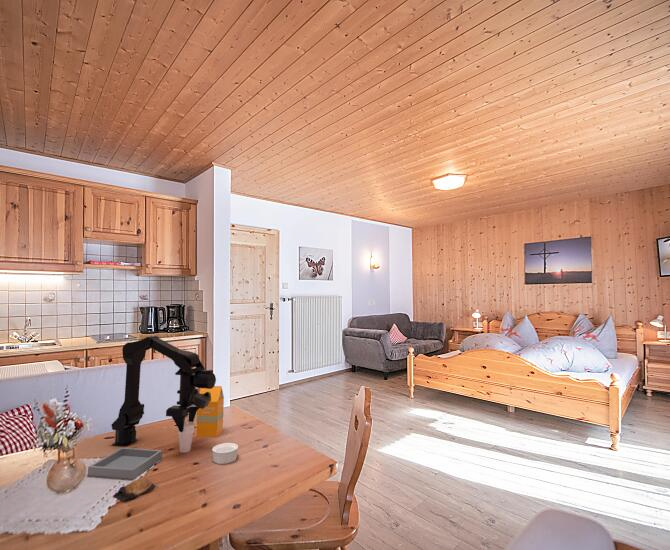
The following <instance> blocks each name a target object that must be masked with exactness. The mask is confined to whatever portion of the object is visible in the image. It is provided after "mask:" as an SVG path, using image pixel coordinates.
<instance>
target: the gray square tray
mask: <svg viewBox="0 0 670 550" xmlns="http://www.w3.org/2000/svg"><path fill="white" fill-rule="evenodd" d="M162 459H163V450H161V449H147V448H133V447H131V448H130V447H121V448H119V449H117V450H115V451H114V452H112V453H110V454H109V455H107V456H105V457H103V458H101V459H100V460H98V461H95V462H94V463H93V464H91V465H88V466H87V477H90V478H101V479H110V480H111V479H114V480H124V481H125V480H128V481H134V480H136V478H138V477H140V476H141V475H142V474H143V473H145V472H146V471H147V470H149V469H150V468H152V467H153V466H154V465H156V464H157V463H159V462H160V461H161V460H162Z"/></svg>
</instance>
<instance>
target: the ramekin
mask: <svg viewBox="0 0 670 550" xmlns="http://www.w3.org/2000/svg"><path fill="white" fill-rule="evenodd" d="M238 449H239V445H238V444H237V443H233V442H225V443H220V444H217V445H214V446H213V447H212V449H211V451H212V458H213V459H212V460H213V462H214V464H217V465H226V464H227V465H228V464H231V463H234V462H235V461H236V460H237V457H238V456H237V455H238Z"/></svg>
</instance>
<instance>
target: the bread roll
mask: <svg viewBox="0 0 670 550" xmlns="http://www.w3.org/2000/svg"><path fill="white" fill-rule="evenodd" d="M158 488H159V484H155V483H153V482H152V481H150V480H149V479H148V478H145V477H142V478H138V479H134V480H132V481H131V482H129V483H128V484H126V485H123V486H121V487H120V488H119V489H118V491H117V492H116V493H115V494H113V495H112V498H114V499H116V500H119V501H120V502H122V503H123V502H124V503H130V502H131V503H132V502H133V501H135V500H137V499H139V498H141V497H143V496H145V495H147V494H150V493H151V492H152V491H154V490H156V489H158Z"/></svg>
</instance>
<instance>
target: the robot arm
mask: <svg viewBox="0 0 670 550" xmlns="http://www.w3.org/2000/svg"><path fill="white" fill-rule="evenodd" d="M151 349H152V350H154V351H156V352H157V353H160V354H161V355H162V356H165V357H166V358H168V359H170V360H172V361H173V363H174V365H175V366H176V367H178V368H179V369H178V370H177V371H175V373H174V374H175V375H176V376H179V389H178V390H177V392H176V394H178V395H179V398H178V401H176V405H175V404H174V405H172V406H170V407H168V408H167V409H166V410H165V417H171V418H172V419H173V421H174V423H175V426H176V428H177V427H178V429H179V431H180V432H183V429H184V423H185V422H186V419H187V415H188V413H189V421H188V422H195V418H196V416H197V410H198V409H200V408H201V409H204V408H205V407H207V406H208V404H209V402H210V401H211V393H210V392H206V393H204V394H203V393H202V394H200V391H199V389H201V388H206V389H212V388H213V387H214V386H215V385H216V382H217V378H216V375H215V373H214V370H213V369H206V368H205V367H204V365H203V363H202V361H201V359H200V355H199V354H197V353H195V352H193V351H189V350H184V349H180V348H179V347H176V346H175V345H172V344H171V343H169V342H167V341H165V340H164V339H161V338H160V337H159V336H156V335H152V336H146V337H145V338H142V339H139V340H136V341H130V342H126V343H125V344H124V345H123V346H122V349H121V351H122V360H123V361H124V362H125V364H126V368H125V369H126V370H125V372H126V373H125V387H124V401H123V403H122V404H121V407H120V409H119V411H118V416H117V418H116V419H115V420H114V421H113V422H112V423H111V430H113V431H115V437H114V440H115V441H114V442H113V443H112V444H111V446H116V447H117V446H118V447H129V446H130V445H132V444H133V443H135V442H137V441H138V438H137V430H136V425H139V424H140V421H141V419H143V415H145V410H144V409H145V404H144V403H141V401H140V399H139V398H140V385H141V384H140V381H141V366H142V363H143V361H144V359H145V358H146V354H147V351H149V350H151ZM178 429H177V430H178Z"/></svg>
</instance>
